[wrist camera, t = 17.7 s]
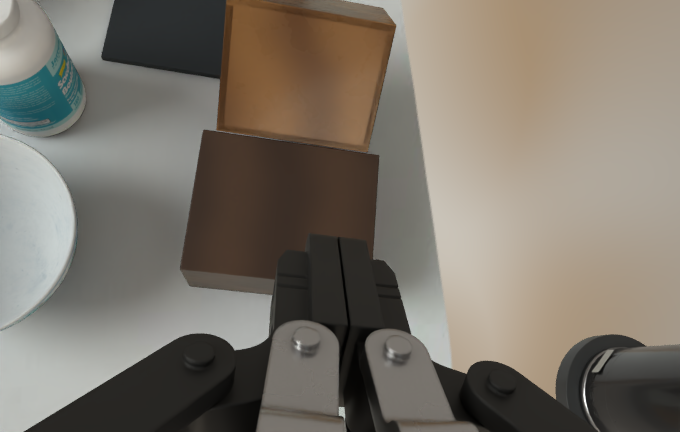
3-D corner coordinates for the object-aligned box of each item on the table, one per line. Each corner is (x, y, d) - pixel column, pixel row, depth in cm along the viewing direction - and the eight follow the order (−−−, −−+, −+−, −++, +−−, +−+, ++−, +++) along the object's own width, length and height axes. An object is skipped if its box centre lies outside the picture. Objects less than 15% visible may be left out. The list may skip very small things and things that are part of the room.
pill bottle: (101, 122, 49) (52, 33, 36) (14, 152, 47) (-70, 69, 34) (71, 53, 50) (13, -56, 37) (-14, 79, 48) (-106, -27, 35)
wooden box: (367, 152, 44) (359, 121, 50) (396, 25, 39) (383, 8, 45) (216, 130, 42) (226, 101, 48) (226, -6, 37) (236, -20, 43)
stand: (358, 186, 52) (379, 154, 44) (350, 303, 48) (371, 290, 41) (208, 166, 50) (203, 129, 42) (189, 286, 46) (179, 269, 39)
